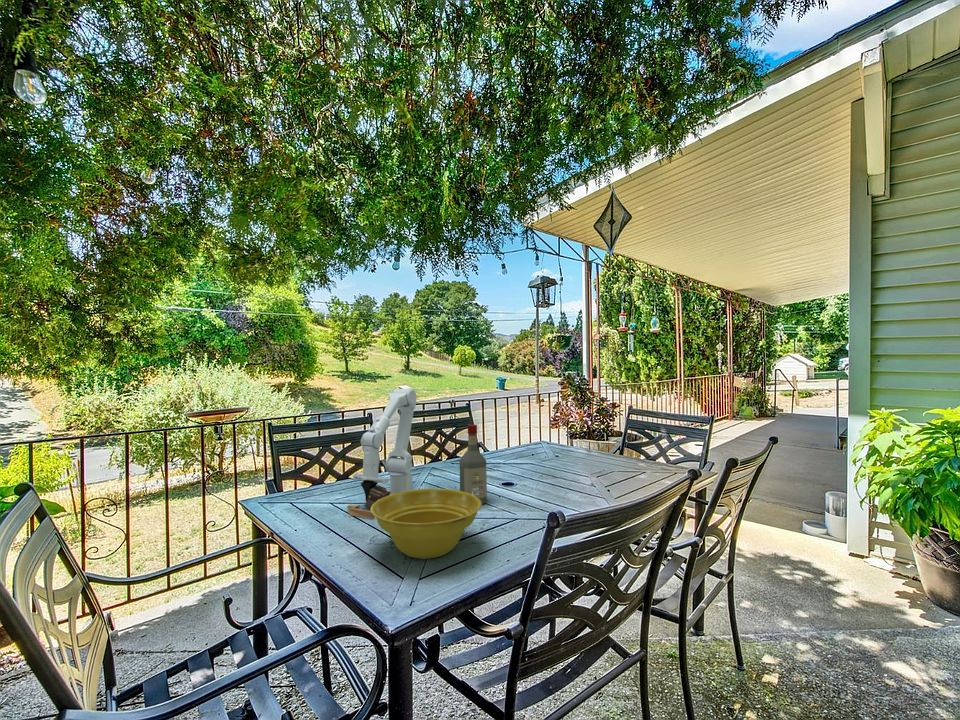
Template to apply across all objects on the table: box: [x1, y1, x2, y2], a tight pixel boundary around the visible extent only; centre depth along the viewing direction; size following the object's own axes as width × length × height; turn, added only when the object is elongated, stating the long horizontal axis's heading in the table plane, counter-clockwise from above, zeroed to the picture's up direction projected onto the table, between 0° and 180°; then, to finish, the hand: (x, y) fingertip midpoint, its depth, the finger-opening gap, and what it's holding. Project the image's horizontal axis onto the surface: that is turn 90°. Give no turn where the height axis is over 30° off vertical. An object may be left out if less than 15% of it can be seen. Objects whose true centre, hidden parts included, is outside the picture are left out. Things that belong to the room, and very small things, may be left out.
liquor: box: [459, 424, 488, 505], centre depth 169 cm, size 9×9×30 cm
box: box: [364, 484, 391, 511], centre depth 162 cm, size 6×6×7 cm
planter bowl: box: [369, 488, 483, 560], centre depth 128 cm, size 32×32×13 cm
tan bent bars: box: [346, 504, 376, 520], centre depth 161 cm, size 19×29×3 cm, turn 67°
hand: (369, 501), depth 163 cm, fingers closed, pressing on box
